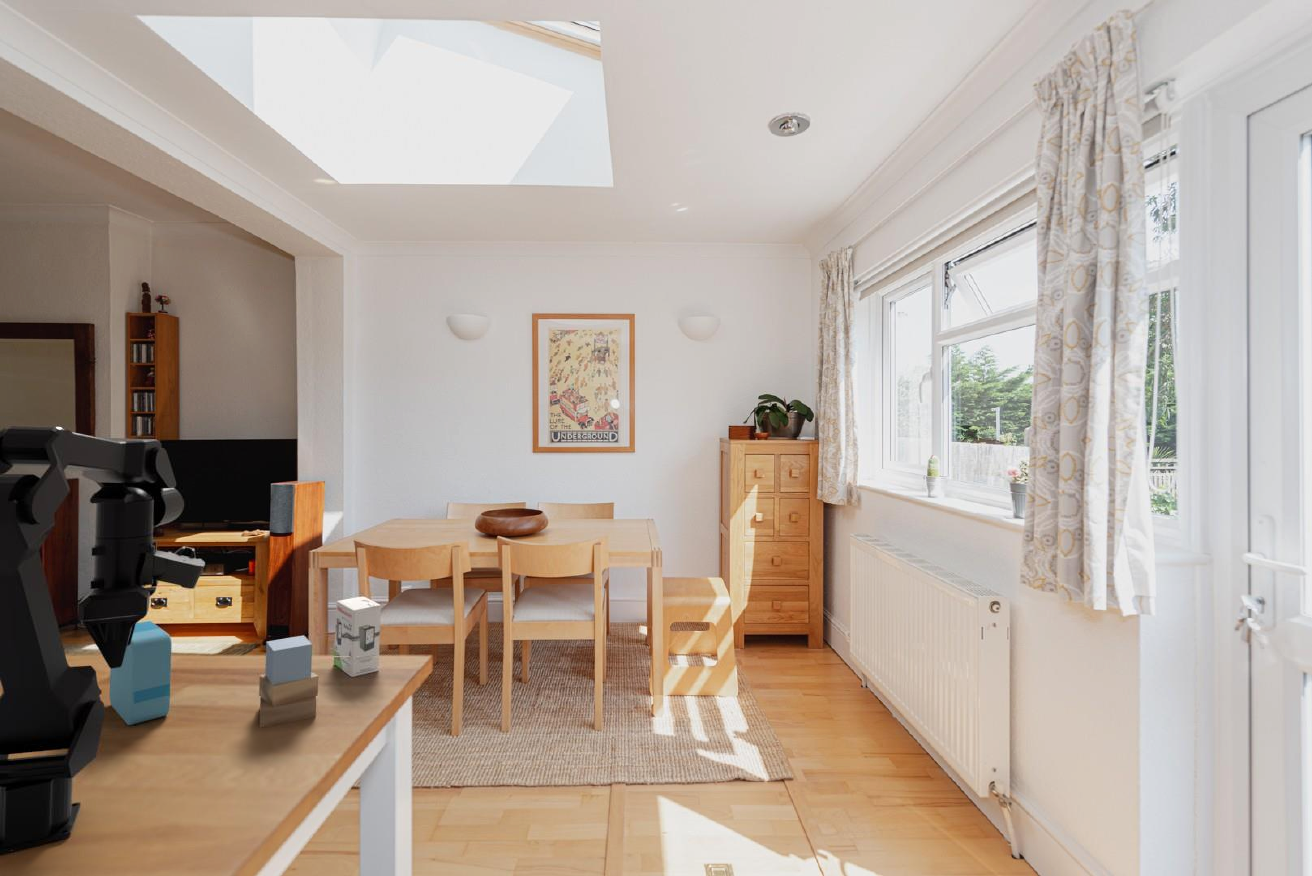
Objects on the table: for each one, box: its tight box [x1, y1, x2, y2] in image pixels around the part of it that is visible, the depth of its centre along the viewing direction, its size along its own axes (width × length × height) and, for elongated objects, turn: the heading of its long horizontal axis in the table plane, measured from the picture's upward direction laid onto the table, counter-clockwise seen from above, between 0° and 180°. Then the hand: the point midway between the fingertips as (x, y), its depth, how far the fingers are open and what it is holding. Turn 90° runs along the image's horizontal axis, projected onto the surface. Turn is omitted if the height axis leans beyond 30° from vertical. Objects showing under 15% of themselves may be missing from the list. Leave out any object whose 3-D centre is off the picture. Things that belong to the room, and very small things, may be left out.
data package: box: [109, 620, 173, 726], centre depth 93 cm, size 12×4×12 cm, turn 52°
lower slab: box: [259, 696, 317, 728], centre depth 94 cm, size 7×7×3 cm
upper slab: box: [258, 670, 319, 708], centre depth 94 cm, size 6×6×3 cm
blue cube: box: [264, 635, 313, 686], centre depth 94 cm, size 5×5×5 cm
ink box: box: [333, 596, 382, 678], centre depth 113 cm, size 9×5×12 cm, turn 47°
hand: (120, 656), depth 81 cm, fingers open, 9 cm apart
